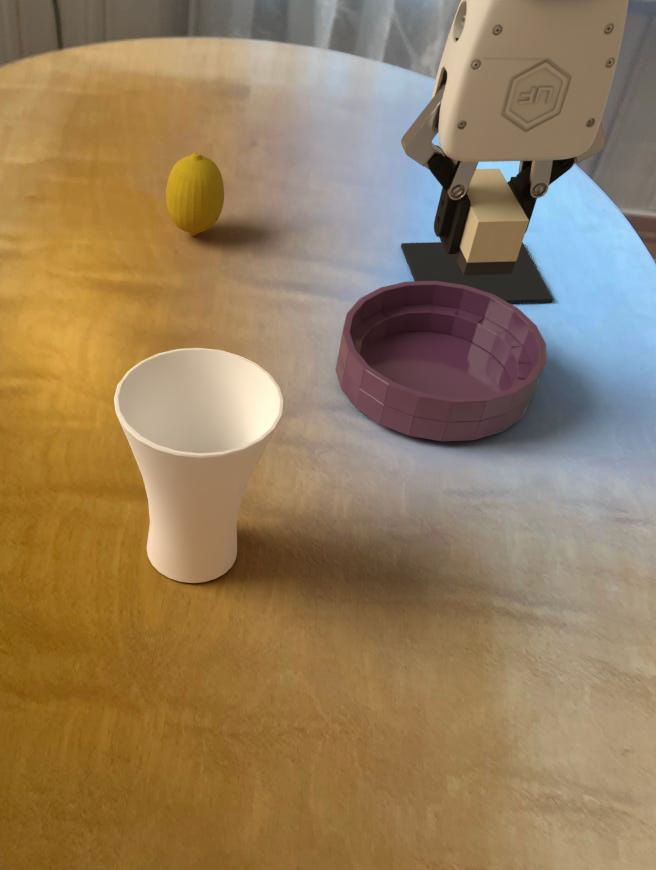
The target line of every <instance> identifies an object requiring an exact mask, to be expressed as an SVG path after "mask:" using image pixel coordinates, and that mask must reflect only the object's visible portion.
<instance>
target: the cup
mask: <svg viewBox="0 0 656 870" xmlns="http://www.w3.org/2000/svg"><path fill="white" fill-rule="evenodd" d="M281 389H282V388H281V387H280V385H279V384H278V383H277V382H276V380H275V379H274V378H273V376H272V375H271V373H269V372H268V371H266V369H264V368H263V367H262V366H260V365H259V364H257V363H256V362H254V361H252V360H250V359H248V358H246V357H243V356H241V355H239V354H236V353H232V352H228V351H225V350H221V349H216V348H206V347H205V348H204V347H203V348H202V347H190V348H189V347H188V348H187V347H186V348H176V349H171V350H168V351H167V350H166V351H163V352H158V353H156V354H154V355H151V356H149V357H147V358H145V359H143V360H140V361H139V362H138V363H137V364H135V365H134V366H132V367H131V368H130V369H129V370H127V372H126V373H125V374H124V375H123V377H122V378H121V379H120V381H119V382H118V383H117V385H116V389H115V393H114V396H113V403H114V409H115V410H114V411H115V415H116V417H117V419H118V421H119V424H120V426H121V428H122V430H123V433H124V434H125V437H126V440H127V441H128V445H129V447H130V450H131V451H132V454H133V456H134V459H135V461H136V464H137V467H138V469H139V471H140V474H141V477H142V480H143V484H144V488H145V492H146V498H147V503H148V504H147V505H148V514H149V527H148V536H147V543H146V555H147V558H148V560H149V562H150V564H151V565H152V567H154V569H156V571H158V572H159V574H161V575H163V576H165V577H166V578H168V579H170V580H174V581H176V582H179V583H187V584H188V583H189V584H198V583H206V582H209V581H213V580H216V579H218V578H219V577H221V576H223V575H225V574H226V573H228V571H229V570H231V568H232V567H233V566H234V563H235V562H236V560H237V556H238V532H237V531H238V530H237V525H238V519H239V515H240V513H239V512H240V509H241V505H242V501H243V498H244V495H245V492H246V491H247V487H248V484H249V481H250V479H251V477H252V475H253V473H254V471H255V469H256V467H257V465H258V464H259V461H260V460H261V458H262V455H263V454H264V452H265V449H266V448H267V446H268V444H269V443H270V440H271V439H272V437H273V435H274V434H275V431H276V430H277V428H278V426H279V425H280V423H281V421H282V419H283V417H284V409H285V399H284V397H283V393H282V390H281Z"/></svg>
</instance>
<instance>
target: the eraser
mask: <svg viewBox="0 0 656 870" xmlns="http://www.w3.org/2000/svg"><path fill="white" fill-rule="evenodd" d="M507 182H508V181H507V179H506V178H505V176H504V175H503V173H502V171H501V169H500V168H476V170H475V172H474V175H473V177H472V180H471V182H470V184H469V187H468V191H467V195H468V197H469V199H470V201H471V206H470V208H469V212H468V216H467V220H466V223H465V227H464V231H463V235H462V239H461V242H460V247H459V250H458V252H456V254H454V256H455V258H456V260H457V262H458V264H459V266H460V269H461V271H462V273H463V275H498V274H512V272H513V269H514V266H515V263H516V260H517V257H518V254H519V251H520V248H521V244H522V242H524V239H525V235H526V233H527V231H526V229H527V225H528V222H529V220H528V218H527V216H526V214H525V213H524V211H523V209H522V207H521V206H520V204H519V202H518V201H517V199H516V197H515V195H514V194H513V192H512V190H511V188H510V187H509V185H508V183H507ZM529 223H530V222H529ZM528 226H529V225H528ZM527 230H528V229H527ZM525 232H526V233H525Z"/></svg>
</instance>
